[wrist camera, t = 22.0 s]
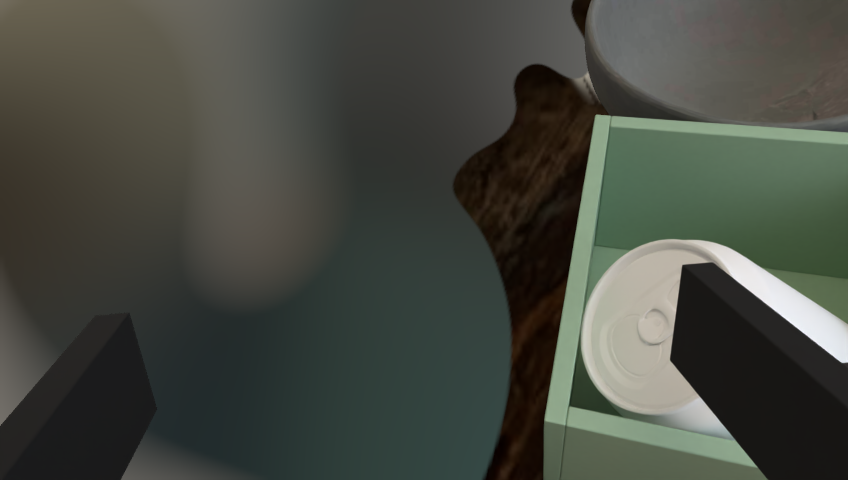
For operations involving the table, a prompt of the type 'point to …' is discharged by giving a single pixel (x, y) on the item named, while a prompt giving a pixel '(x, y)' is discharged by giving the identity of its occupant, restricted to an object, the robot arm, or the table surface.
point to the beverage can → (654, 324)
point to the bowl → (722, 61)
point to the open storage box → (690, 220)
